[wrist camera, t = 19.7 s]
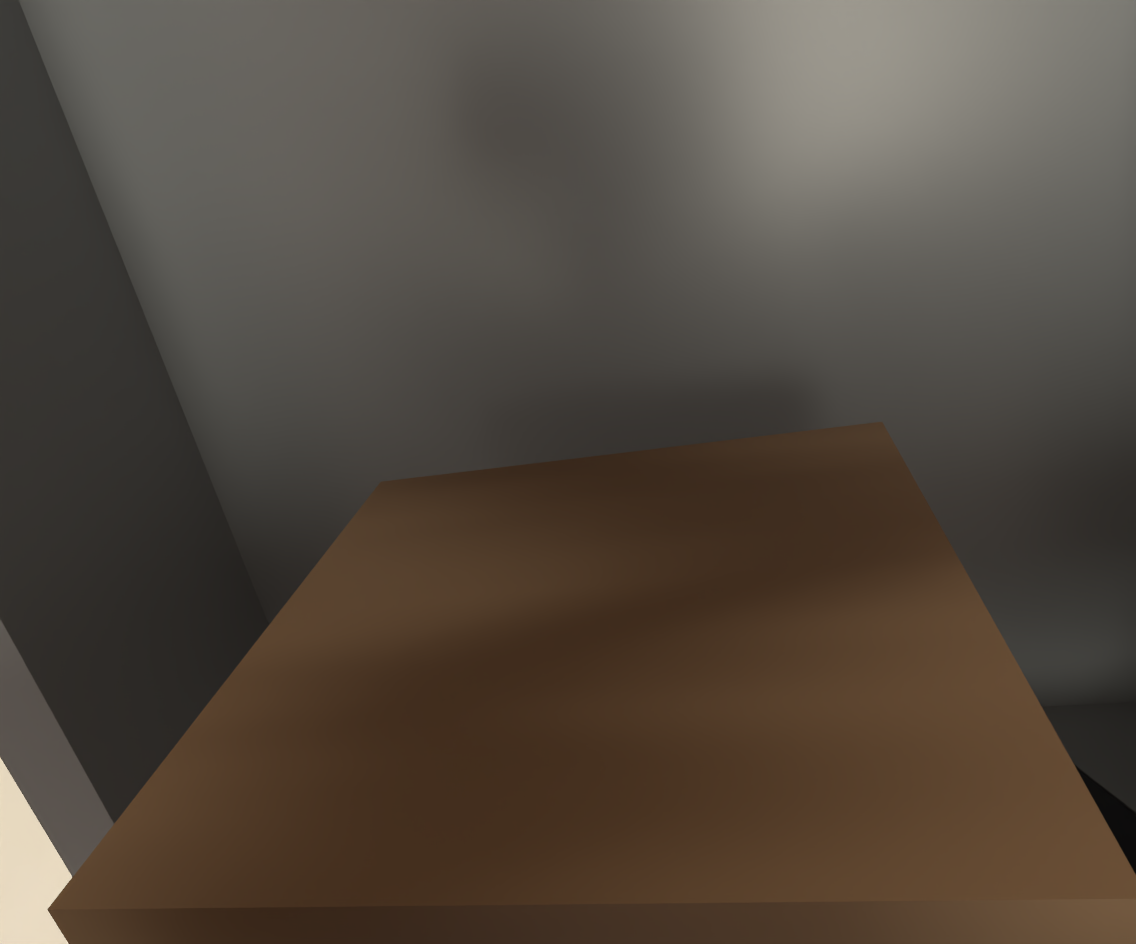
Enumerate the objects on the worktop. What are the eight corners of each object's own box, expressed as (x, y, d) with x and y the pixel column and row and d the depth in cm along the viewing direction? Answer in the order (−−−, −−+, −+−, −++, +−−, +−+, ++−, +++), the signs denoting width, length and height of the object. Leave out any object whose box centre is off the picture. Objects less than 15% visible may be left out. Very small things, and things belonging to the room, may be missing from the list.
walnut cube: (882, 422, 8) (1150, 898, 3) (897, 818, 10) (1076, 1456, 5) (380, 481, 9) (47, 909, 4) (487, 830, 11) (339, 1375, 6)
